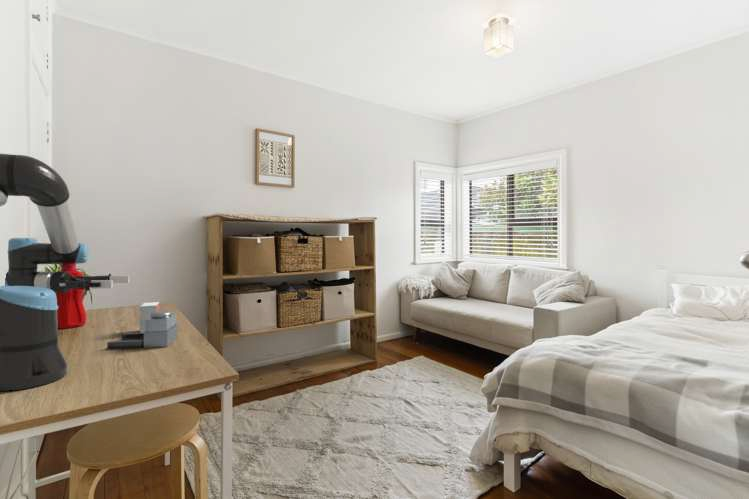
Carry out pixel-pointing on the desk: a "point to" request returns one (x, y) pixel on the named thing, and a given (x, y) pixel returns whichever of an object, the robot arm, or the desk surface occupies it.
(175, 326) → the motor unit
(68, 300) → the water bottle
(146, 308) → the small box
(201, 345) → the desk surface
